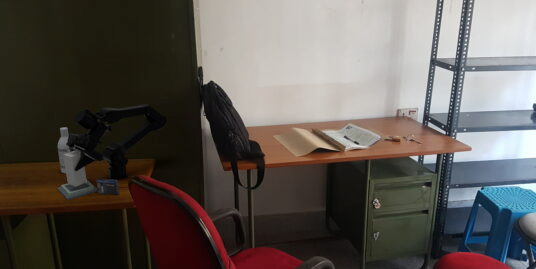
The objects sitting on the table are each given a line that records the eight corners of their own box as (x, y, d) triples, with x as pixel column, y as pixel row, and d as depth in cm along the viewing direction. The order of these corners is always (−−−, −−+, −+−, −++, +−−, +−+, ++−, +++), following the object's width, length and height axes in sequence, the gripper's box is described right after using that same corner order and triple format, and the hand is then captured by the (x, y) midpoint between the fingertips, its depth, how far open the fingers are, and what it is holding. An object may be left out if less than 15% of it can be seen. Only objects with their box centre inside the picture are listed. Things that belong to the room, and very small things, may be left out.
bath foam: (74, 166, 197) (69, 124, 191) (80, 171, 192) (74, 128, 186) (59, 170, 192) (52, 127, 186) (64, 175, 188) (58, 131, 181)
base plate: (87, 181, 181) (87, 177, 181) (98, 191, 173) (98, 186, 172) (57, 189, 174) (57, 185, 173) (67, 200, 165) (66, 195, 165)
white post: (78, 179, 176) (74, 150, 172) (86, 182, 173) (82, 153, 169) (67, 183, 172) (63, 154, 168) (75, 186, 169) (71, 157, 165)
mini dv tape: (97, 193, 171) (96, 179, 169) (100, 192, 172) (98, 178, 170) (117, 195, 170) (115, 181, 168) (119, 193, 171) (117, 180, 169)
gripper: (67, 120, 173) (43, 153, 169) (91, 130, 162) (67, 165, 158) (88, 134, 182) (66, 166, 177) (112, 144, 170) (90, 178, 166)
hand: (71, 168), depth 169 cm, fingers closed on white post, 5 cm apart
